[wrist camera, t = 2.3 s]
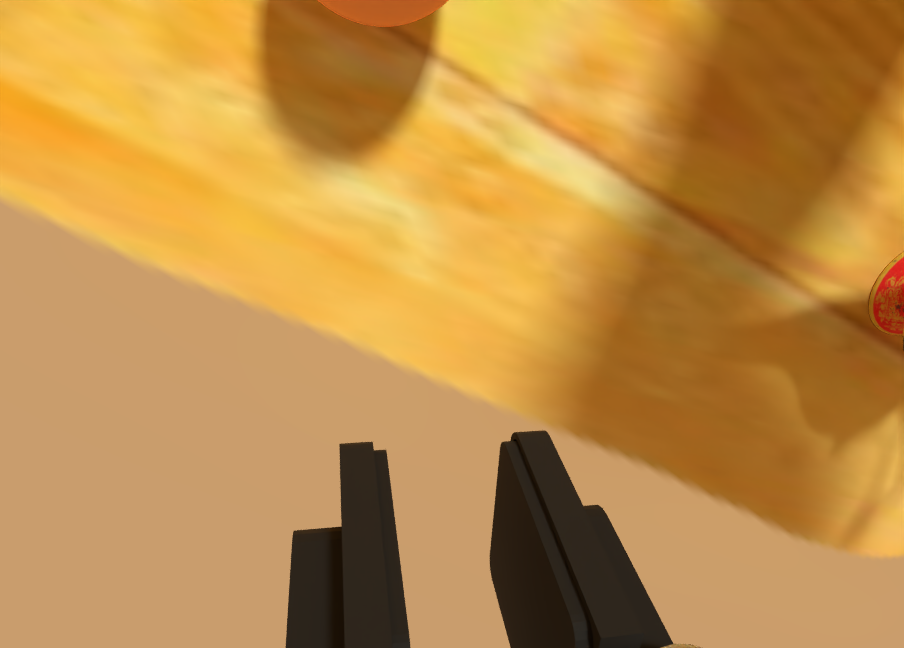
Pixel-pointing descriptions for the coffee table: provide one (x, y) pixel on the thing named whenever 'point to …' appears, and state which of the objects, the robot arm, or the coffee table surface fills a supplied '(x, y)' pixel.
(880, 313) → the magic lamp
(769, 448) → the coffee table surface
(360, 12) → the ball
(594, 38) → the coffee table surface
